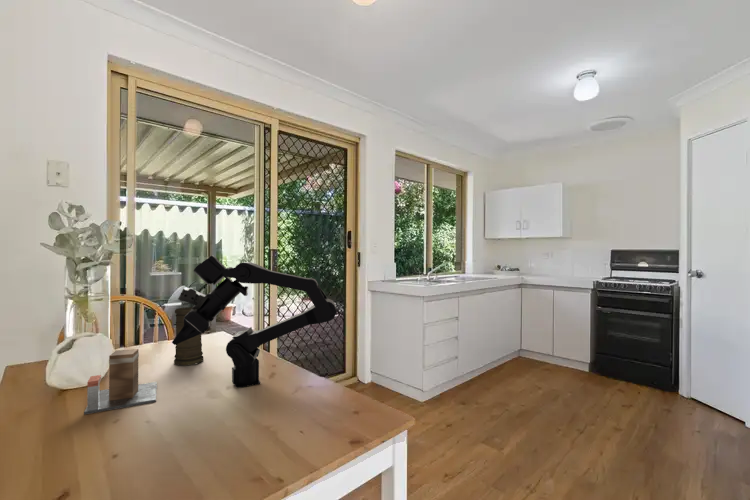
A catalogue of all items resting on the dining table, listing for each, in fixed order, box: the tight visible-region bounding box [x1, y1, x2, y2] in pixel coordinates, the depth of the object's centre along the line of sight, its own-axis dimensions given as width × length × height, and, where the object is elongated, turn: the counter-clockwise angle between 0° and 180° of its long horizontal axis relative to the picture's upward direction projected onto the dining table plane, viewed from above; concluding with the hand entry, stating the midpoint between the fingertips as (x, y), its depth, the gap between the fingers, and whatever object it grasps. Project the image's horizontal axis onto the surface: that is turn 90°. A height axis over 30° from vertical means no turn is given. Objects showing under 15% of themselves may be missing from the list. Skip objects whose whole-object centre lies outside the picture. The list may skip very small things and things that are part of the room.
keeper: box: [83, 374, 158, 416], centre depth 92 cm, size 14×14×7 cm
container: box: [173, 306, 204, 367], centre depth 121 cm, size 9×9×18 cm
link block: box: [108, 348, 140, 400], centre depth 92 cm, size 5×5×11 cm
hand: (176, 339), depth 97 cm, fingers open, 9 cm apart
